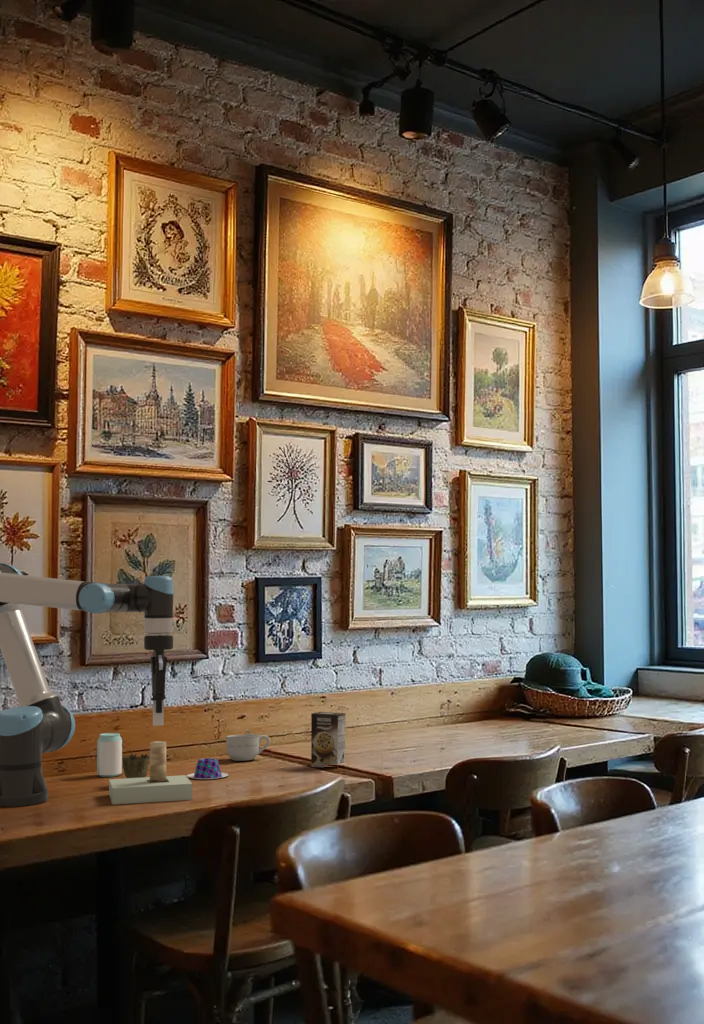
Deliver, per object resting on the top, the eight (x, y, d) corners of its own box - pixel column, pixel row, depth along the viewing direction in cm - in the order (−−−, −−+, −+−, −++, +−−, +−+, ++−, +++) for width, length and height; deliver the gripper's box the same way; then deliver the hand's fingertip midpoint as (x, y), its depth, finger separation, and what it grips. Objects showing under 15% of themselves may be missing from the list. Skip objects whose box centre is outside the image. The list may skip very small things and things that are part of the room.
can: (116, 772, 316) (117, 731, 317) (125, 775, 310) (125, 734, 311) (93, 775, 312) (94, 733, 313) (101, 778, 306) (102, 736, 307)
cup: (152, 782, 298) (152, 753, 298) (144, 787, 290) (145, 757, 291) (126, 782, 298) (126, 753, 299) (118, 787, 291) (118, 757, 292)
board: (112, 804, 266) (112, 788, 267) (108, 794, 280) (109, 779, 280) (192, 799, 272) (192, 783, 272) (185, 790, 285) (185, 775, 286)
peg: (150, 798, 274) (150, 743, 275) (148, 795, 278) (149, 741, 279) (167, 797, 275) (167, 742, 276) (165, 794, 279) (165, 740, 280)
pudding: (236, 777, 307) (236, 759, 307) (203, 782, 298) (203, 764, 299) (212, 773, 315) (212, 755, 316) (178, 778, 307) (178, 759, 307)
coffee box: (310, 767, 323) (310, 713, 324) (319, 764, 329) (318, 711, 330) (337, 768, 319) (337, 714, 321) (346, 765, 325) (345, 712, 327)
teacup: (223, 762, 333) (223, 736, 334) (228, 757, 344) (228, 732, 345) (267, 762, 333) (267, 736, 333) (271, 757, 344) (271, 732, 344)
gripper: (176, 635, 274) (175, 727, 273) (170, 633, 287) (169, 721, 285) (146, 635, 272) (146, 728, 270) (142, 634, 285) (141, 723, 283)
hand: (158, 725), depth 278 cm, fingers closed
